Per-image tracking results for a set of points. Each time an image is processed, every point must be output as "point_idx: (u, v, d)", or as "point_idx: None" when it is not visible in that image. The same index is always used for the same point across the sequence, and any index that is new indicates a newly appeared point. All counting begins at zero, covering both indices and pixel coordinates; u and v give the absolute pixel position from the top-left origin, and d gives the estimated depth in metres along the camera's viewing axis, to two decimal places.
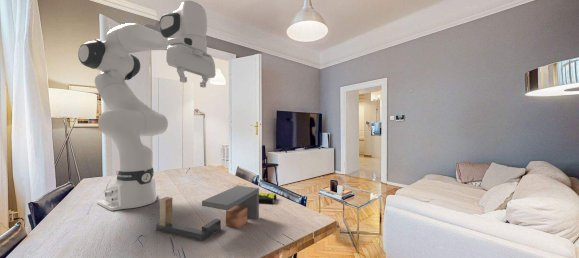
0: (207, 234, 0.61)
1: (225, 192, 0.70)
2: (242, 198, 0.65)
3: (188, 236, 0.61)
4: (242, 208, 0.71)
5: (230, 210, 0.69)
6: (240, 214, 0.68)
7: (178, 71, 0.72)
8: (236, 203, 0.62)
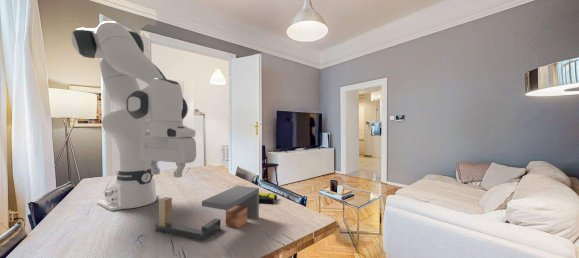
0: (207, 234, 0.61)
1: (225, 192, 0.70)
2: (242, 198, 0.65)
3: (188, 236, 0.61)
4: (242, 208, 0.71)
5: (230, 210, 0.69)
6: (240, 214, 0.68)
7: (181, 166, 0.62)
8: (236, 203, 0.62)
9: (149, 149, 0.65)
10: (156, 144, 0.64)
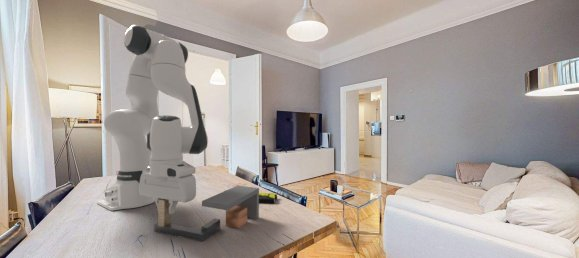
0: (207, 234, 0.61)
1: (225, 192, 0.70)
2: (242, 198, 0.65)
3: (188, 236, 0.60)
4: (242, 208, 0.71)
5: (230, 210, 0.69)
6: (240, 214, 0.68)
7: (174, 203, 0.63)
8: (236, 203, 0.62)
9: (149, 185, 0.65)
10: (156, 181, 0.65)
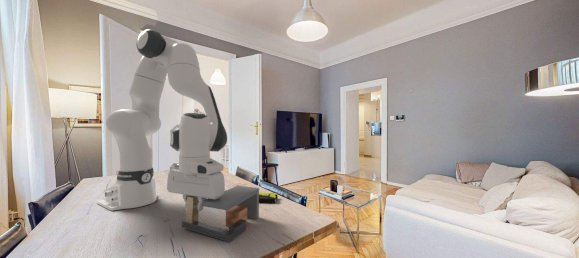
0: (234, 235, 0.61)
1: (225, 192, 0.70)
2: (242, 198, 0.65)
3: (215, 236, 0.60)
4: (242, 208, 0.71)
5: (230, 210, 0.69)
6: (240, 214, 0.68)
7: (202, 200, 0.64)
8: (236, 203, 0.62)
9: (178, 182, 0.66)
10: (184, 178, 0.65)
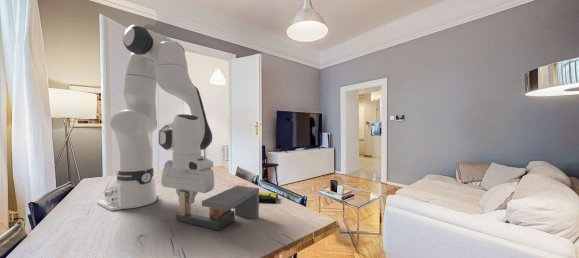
0: (222, 224, 0.67)
1: (225, 192, 0.70)
2: (242, 198, 0.65)
3: (205, 225, 0.67)
4: None
5: None
6: (223, 211, 0.70)
7: (193, 194, 0.70)
8: (236, 203, 0.62)
9: (171, 178, 0.72)
10: (177, 174, 0.71)
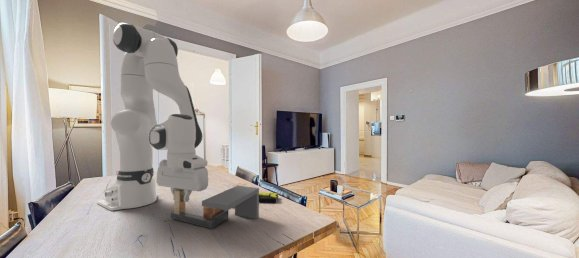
0: (216, 223, 0.68)
1: (225, 192, 0.70)
2: (242, 198, 0.65)
3: (199, 224, 0.68)
4: None
5: None
6: (216, 210, 0.71)
7: (188, 192, 0.71)
8: (236, 203, 0.62)
9: (166, 176, 0.73)
10: (172, 173, 0.72)
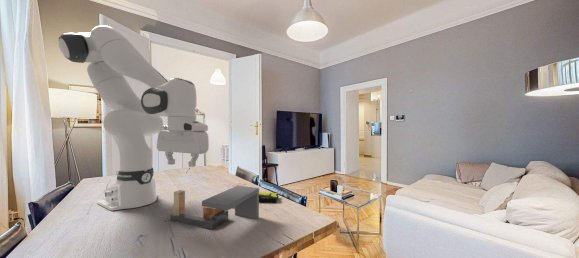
0: (216, 223, 0.68)
1: (225, 192, 0.70)
2: (242, 198, 0.65)
3: (199, 225, 0.68)
4: None
5: None
6: (216, 210, 0.71)
7: (195, 157, 0.70)
8: (236, 203, 0.62)
9: (166, 141, 0.73)
10: (173, 137, 0.72)
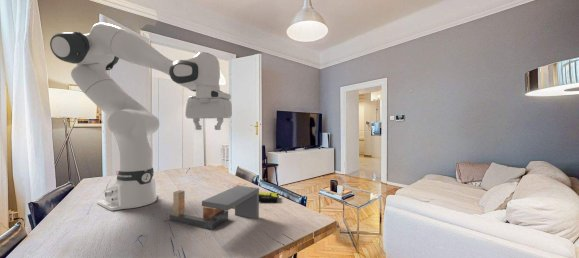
0: (216, 223, 0.68)
1: (225, 192, 0.70)
2: (242, 198, 0.65)
3: (199, 225, 0.68)
4: None
5: None
6: (216, 210, 0.71)
7: (220, 121, 0.81)
8: (236, 203, 0.62)
9: (194, 109, 0.83)
10: (200, 105, 0.83)
